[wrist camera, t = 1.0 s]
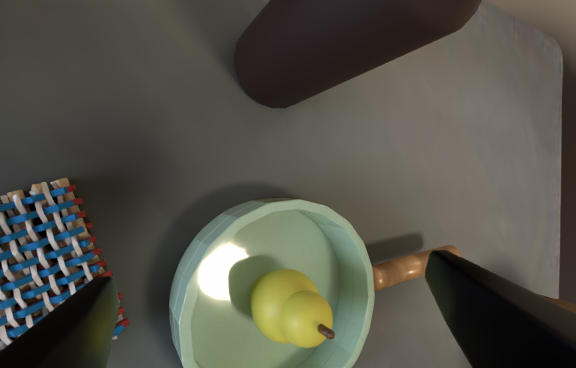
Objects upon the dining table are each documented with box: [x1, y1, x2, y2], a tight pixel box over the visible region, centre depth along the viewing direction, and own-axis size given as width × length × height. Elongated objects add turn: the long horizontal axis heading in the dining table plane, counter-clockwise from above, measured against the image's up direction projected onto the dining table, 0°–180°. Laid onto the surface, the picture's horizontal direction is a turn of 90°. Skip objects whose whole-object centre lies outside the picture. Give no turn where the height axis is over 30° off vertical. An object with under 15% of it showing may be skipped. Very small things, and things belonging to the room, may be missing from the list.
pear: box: [249, 269, 335, 348], centre depth 22 cm, size 5×5×8 cm
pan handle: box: [372, 245, 461, 291], centre depth 29 cm, size 2×12×2 cm, turn 95°
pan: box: [169, 198, 375, 368], centre depth 24 cm, size 15×15×4 cm
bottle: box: [234, 0, 481, 108], centre depth 17 cm, size 7×7×20 cm
